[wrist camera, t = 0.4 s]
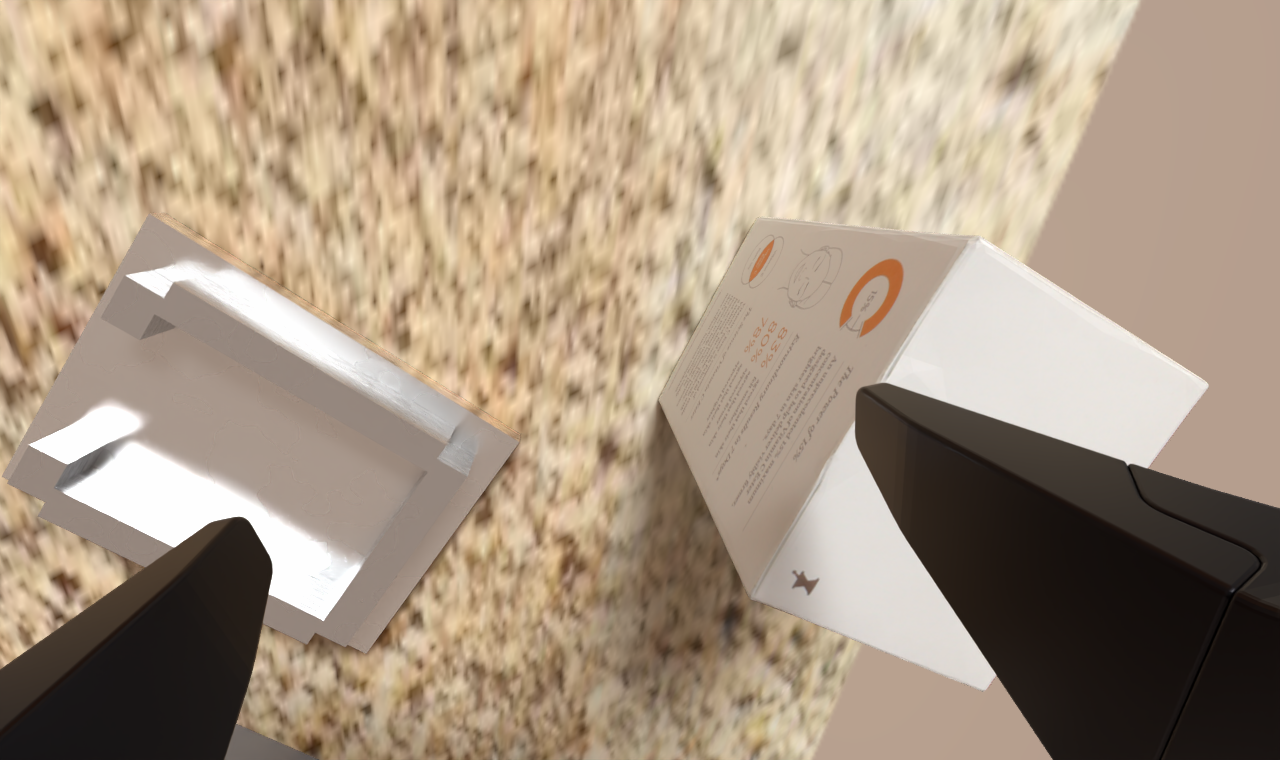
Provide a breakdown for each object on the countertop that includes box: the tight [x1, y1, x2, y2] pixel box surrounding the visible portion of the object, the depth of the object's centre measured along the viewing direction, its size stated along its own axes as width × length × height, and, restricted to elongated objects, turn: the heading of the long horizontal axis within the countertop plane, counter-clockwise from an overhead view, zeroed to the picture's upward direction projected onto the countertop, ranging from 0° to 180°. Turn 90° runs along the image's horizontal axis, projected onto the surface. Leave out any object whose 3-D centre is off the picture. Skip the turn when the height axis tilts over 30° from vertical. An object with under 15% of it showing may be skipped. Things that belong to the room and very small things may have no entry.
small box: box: [659, 217, 1209, 692], centre depth 19 cm, size 8×6×13 cm
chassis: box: [2, 213, 521, 653], centre depth 23 cm, size 14×11×3 cm
